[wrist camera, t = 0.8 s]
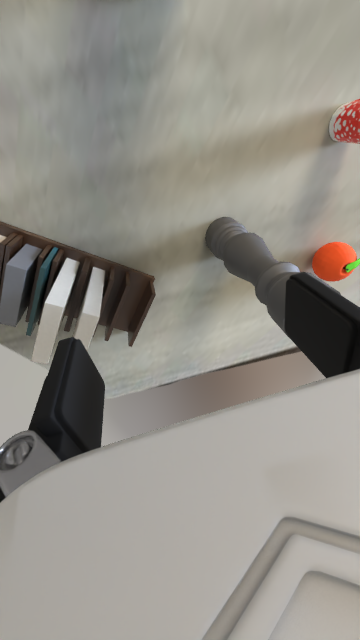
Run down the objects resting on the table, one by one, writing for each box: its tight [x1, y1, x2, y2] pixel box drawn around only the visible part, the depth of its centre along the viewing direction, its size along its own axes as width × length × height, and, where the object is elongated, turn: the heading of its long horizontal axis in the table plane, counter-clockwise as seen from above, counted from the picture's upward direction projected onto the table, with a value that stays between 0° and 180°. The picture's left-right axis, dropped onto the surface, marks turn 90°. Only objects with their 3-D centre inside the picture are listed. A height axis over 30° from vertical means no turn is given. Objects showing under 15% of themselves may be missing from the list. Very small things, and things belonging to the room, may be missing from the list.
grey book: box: [0, 244, 42, 327], centre depth 36 cm, size 2×9×8 cm, turn 154°
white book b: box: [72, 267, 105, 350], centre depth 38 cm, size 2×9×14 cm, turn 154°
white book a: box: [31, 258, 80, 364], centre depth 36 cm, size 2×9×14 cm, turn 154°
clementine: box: [312, 242, 360, 281], centre depth 46 cm, size 8×7×7 cm
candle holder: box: [205, 217, 341, 336], centre depth 33 cm, size 6×6×25 cm
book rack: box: [0, 222, 156, 347], centre depth 38 cm, size 30×12×9 cm, turn 64°
